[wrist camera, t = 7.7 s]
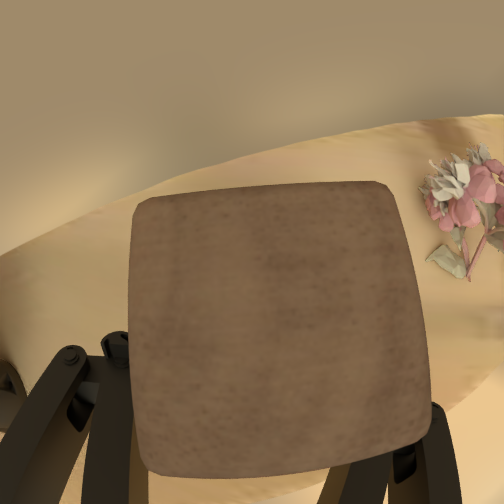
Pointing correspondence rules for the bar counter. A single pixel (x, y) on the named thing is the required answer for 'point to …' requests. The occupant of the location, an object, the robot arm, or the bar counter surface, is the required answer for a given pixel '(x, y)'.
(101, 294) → the bar counter surface
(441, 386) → the bar counter surface
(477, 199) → the flower
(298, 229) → the wooden block
